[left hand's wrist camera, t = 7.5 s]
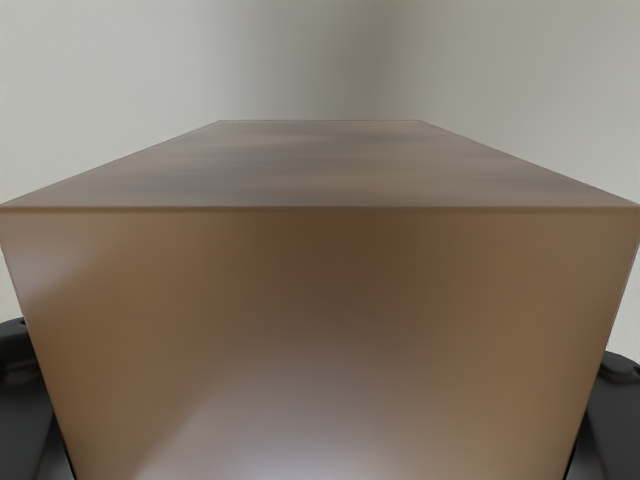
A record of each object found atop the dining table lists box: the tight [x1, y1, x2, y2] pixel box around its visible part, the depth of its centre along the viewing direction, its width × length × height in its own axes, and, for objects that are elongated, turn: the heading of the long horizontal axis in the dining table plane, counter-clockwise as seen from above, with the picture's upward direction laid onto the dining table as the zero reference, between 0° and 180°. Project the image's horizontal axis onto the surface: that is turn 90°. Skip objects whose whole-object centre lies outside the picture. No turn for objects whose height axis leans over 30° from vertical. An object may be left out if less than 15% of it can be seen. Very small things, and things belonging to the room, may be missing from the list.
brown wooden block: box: [0, 120, 640, 480], centre depth 11 cm, size 8×9×11 cm
